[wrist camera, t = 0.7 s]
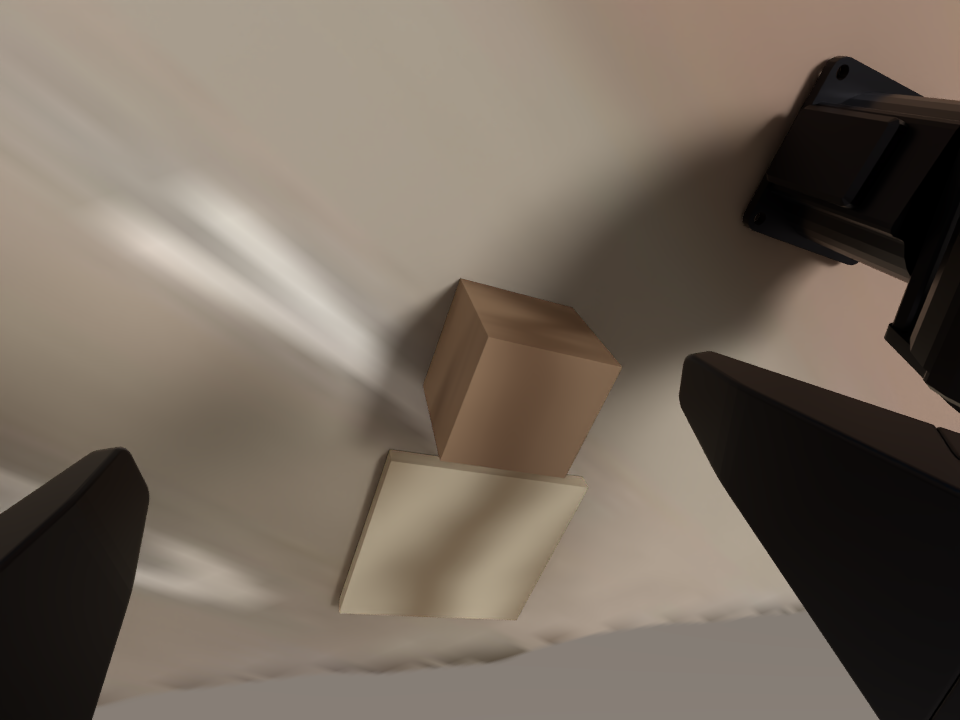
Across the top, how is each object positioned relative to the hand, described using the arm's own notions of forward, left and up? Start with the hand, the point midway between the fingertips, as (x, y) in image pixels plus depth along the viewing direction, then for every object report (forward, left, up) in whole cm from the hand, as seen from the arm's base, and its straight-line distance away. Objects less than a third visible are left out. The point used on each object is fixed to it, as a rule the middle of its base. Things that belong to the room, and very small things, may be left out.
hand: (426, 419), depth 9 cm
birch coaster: (-8, +15, -13) cm, 21 cm away
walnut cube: (-6, +4, -13) cm, 15 cm away
